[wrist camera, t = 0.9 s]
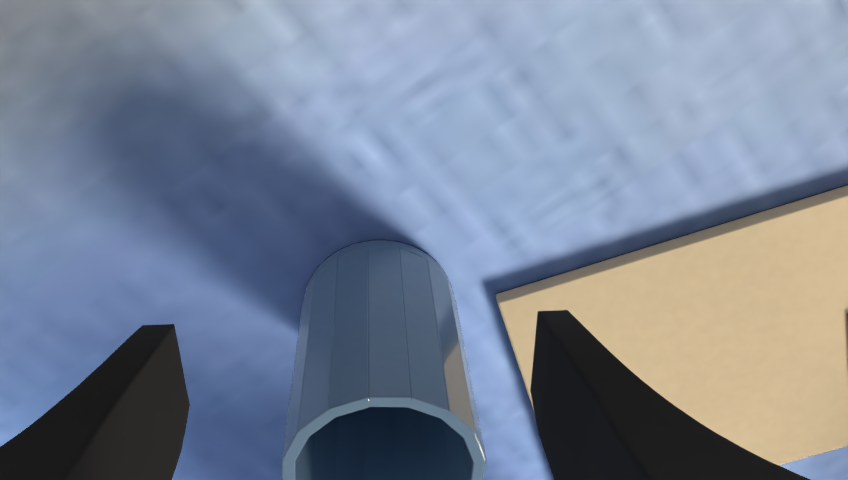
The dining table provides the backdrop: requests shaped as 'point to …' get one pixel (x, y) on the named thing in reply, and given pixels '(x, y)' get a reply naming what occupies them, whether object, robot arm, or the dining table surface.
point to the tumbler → (381, 373)
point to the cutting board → (724, 324)
